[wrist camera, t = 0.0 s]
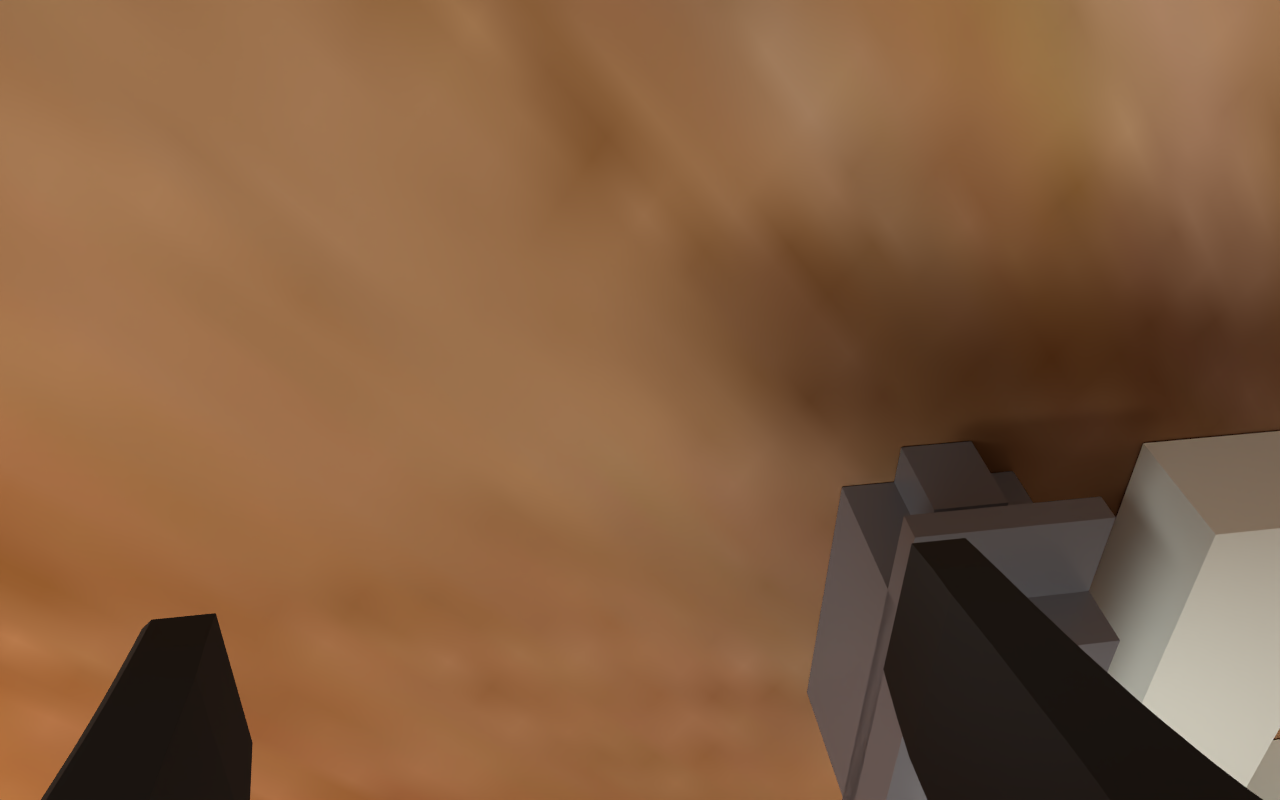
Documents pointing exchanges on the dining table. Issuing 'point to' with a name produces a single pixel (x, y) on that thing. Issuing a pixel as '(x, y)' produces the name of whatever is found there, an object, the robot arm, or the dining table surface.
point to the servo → (873, 576)
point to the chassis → (1202, 597)
